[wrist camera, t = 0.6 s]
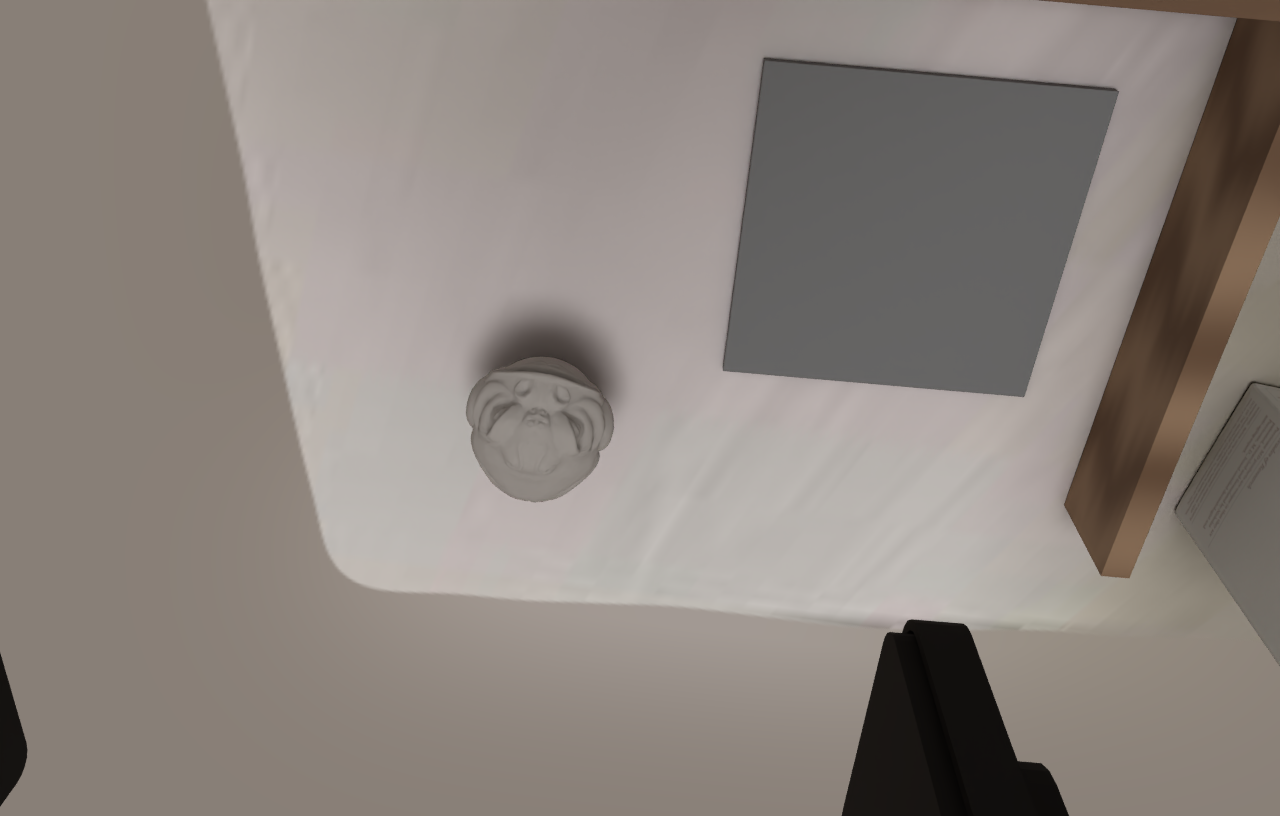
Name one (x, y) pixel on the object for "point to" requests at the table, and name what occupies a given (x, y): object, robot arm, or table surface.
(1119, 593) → the table surface
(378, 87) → the table surface
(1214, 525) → the supplement box
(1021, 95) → the slate mat
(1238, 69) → the corner walls
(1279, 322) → the table surface
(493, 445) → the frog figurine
